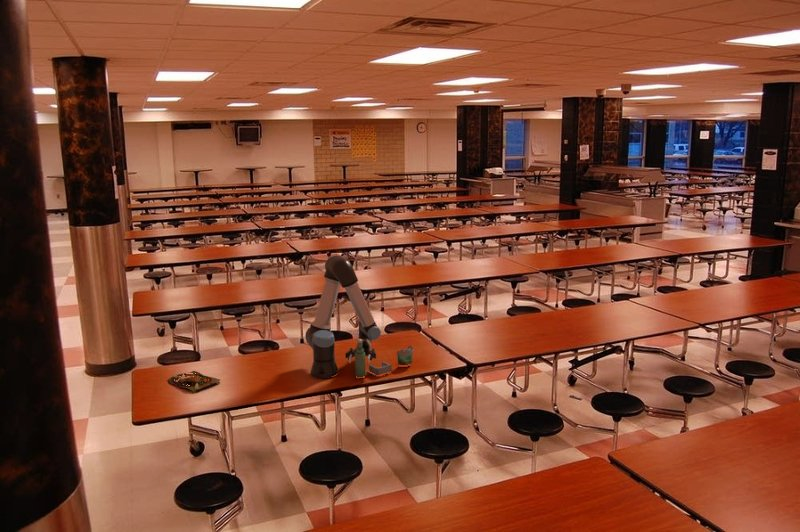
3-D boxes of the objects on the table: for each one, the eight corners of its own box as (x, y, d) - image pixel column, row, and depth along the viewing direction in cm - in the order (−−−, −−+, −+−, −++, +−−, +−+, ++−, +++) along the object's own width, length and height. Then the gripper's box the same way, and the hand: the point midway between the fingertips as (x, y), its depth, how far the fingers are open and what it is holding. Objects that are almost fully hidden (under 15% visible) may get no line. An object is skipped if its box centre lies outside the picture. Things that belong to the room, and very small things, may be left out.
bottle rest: (366, 372, 342) (366, 363, 341) (381, 368, 348) (381, 360, 347) (377, 377, 334) (377, 369, 333) (392, 373, 340) (391, 365, 339)
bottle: (353, 376, 335) (352, 339, 331) (361, 374, 339) (361, 337, 334) (358, 379, 331) (358, 342, 327) (367, 377, 334) (367, 340, 330)
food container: (405, 370, 345) (405, 353, 343) (396, 367, 349) (396, 350, 347) (418, 363, 355) (418, 347, 353) (409, 361, 358) (409, 345, 356)
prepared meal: (163, 375, 330) (193, 365, 343) (163, 382, 330) (193, 371, 344) (192, 390, 312) (223, 379, 326) (193, 397, 313) (223, 385, 327)
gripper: (382, 353, 350) (379, 367, 328) (344, 353, 351) (338, 367, 329) (382, 341, 349) (379, 354, 327) (344, 340, 350) (338, 353, 328)
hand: (359, 360), depth 328 cm, fingers open, 9 cm apart
